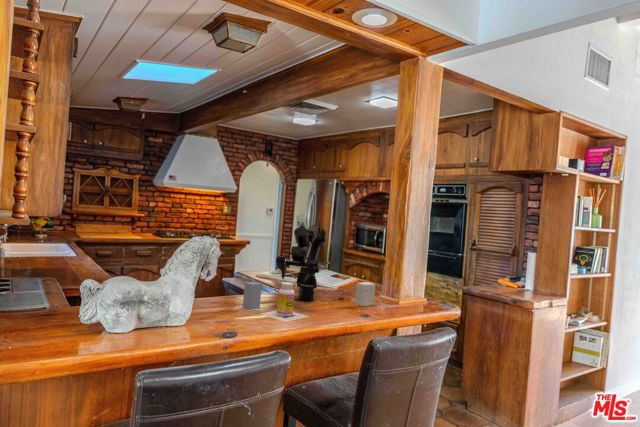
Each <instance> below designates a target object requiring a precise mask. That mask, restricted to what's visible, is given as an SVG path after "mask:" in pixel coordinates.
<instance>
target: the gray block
mask: <svg viewBox="0 0 640 427" xmlns="http://www.w3.org/2000/svg"><path fill="white" fill-rule="evenodd" d="M262 285H263V284H262V283H260V282H257V281H249V282H247V281H246V282H244V287H243V297H242V298H243V300H242V301H243V302H242V308H243V309H246V310H250V311H253V310H258V309H260V308H261V295H262Z"/></svg>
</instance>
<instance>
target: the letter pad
mask: <svg viewBox="0 0 640 427" xmlns="http://www.w3.org/2000/svg"><path fill="white" fill-rule="evenodd" d="M260 314H261V315H263V316H266V317H269V318H272V319H275V320H278V321H280V322H284V323H286V322H291V321H295V320H301V319H305V318H309V317H310V316H308V315H306V314H303V313H300V312H295V311H293V315H292V316H289V317H283V316H279V315H277V309H276V310H272V311H267V312H261V313H260Z"/></svg>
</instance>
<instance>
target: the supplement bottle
mask: <svg viewBox="0 0 640 427" xmlns="http://www.w3.org/2000/svg"><path fill="white" fill-rule="evenodd" d="M293 287H294V283H292V282H289V281H288V282H287V281H285V282H284V281H283V282H281V288H280V289H279V290H278V294H277V304H276V310H277V315H279V316H283V317H289V316H292V315H293V312H294V307H295V306H294V305H295V296H296V294H295V293H296V292H295V290H294V289H293Z"/></svg>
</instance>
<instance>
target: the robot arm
mask: <svg viewBox="0 0 640 427" xmlns="http://www.w3.org/2000/svg"><path fill="white" fill-rule="evenodd" d="M293 234H294V238H295V243H296V246H294V245H293V246H291V250H290V255H291V256H290V258H291V260H290V259H287V256H281V255H279V256H277V257H276V259H275V263H276V266H277V268H278V269H279V270H280V271H281V279H282V280H284V279H285V276H286V273H287V270H288V269H287V268H288V266H294V267H298V268H300V270H299V273H298V274H297V277H296V288H299V290H298V297H297V298H296V300H299V301H302V302H307V303H308V302H313V301H315V298H314V293H315V292H314V291H315V290H314V289H318V284H317V282H318V281H317V276H316V274H318V273H320V269H321V268H320V262H319V260H318V257H319V253H320V250H321V249H322V248H323V247H325V244H326V243H327V239H328V238H327V237H328V235H327V232H326V230H324V229H323V227H322V225H320V224H311V226H309V227H307V228H306V225H300V227H297V228H296V229H294V231H293Z"/></svg>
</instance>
